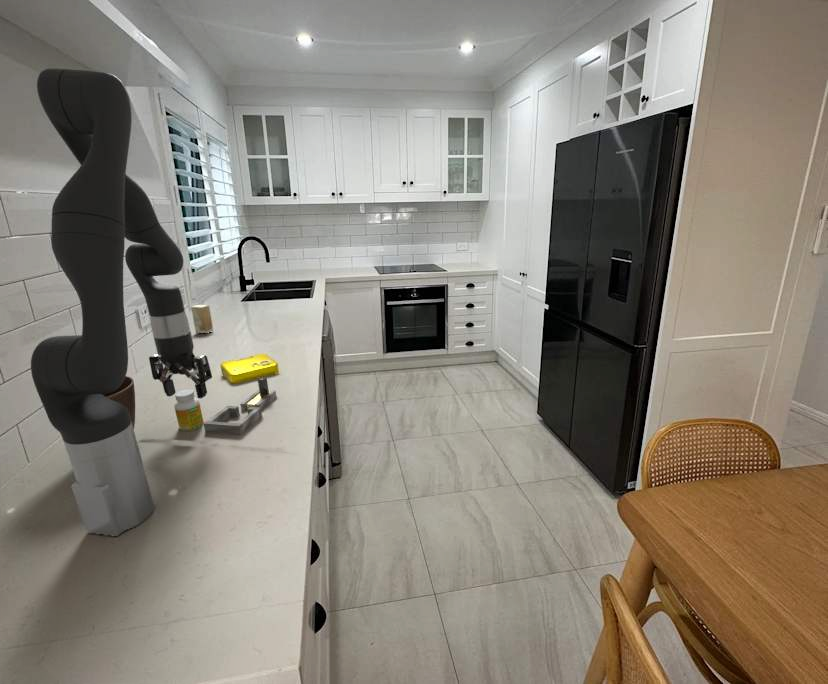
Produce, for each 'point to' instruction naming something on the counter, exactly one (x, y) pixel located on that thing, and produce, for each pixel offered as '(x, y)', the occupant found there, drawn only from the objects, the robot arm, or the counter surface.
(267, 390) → the locking bolt
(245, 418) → the docking base
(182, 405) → the supplement bottle
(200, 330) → the skincare box
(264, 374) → the element tile
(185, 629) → the counter surface
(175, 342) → the robot arm
